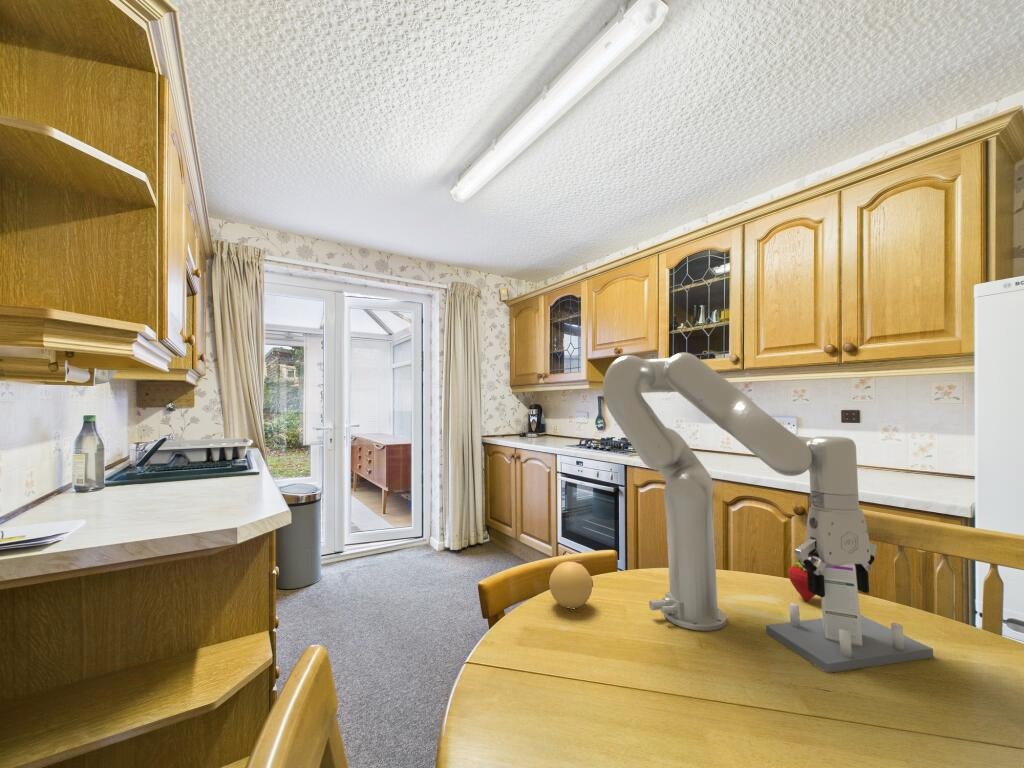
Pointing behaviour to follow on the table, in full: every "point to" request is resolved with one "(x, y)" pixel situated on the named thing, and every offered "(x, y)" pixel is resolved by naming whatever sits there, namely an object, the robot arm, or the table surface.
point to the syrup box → (841, 603)
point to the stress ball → (570, 584)
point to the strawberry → (800, 581)
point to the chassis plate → (831, 648)
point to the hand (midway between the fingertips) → (838, 592)
